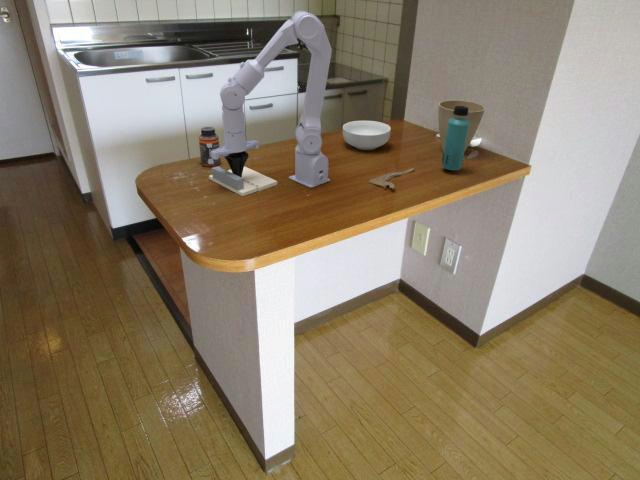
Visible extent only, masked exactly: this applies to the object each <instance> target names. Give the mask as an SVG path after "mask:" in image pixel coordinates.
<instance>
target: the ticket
mask: <svg viewBox="0 0 640 480" xmlns="http://www.w3.org/2000/svg"><path fill="white" fill-rule="evenodd" d="M227 171H229V172H231V173H232V170H231V169H228V170H227ZM242 178H243V181H244V182H246V183H248V184H250V185H252V186H254V187H256V188H257V192H260V191H263V190H266V189H269V188H271V187H274V186H277V185H278V181H277V180H275V179H273V178H271V177H269V176H266V175H264V174H262V173H260V172H258V171H256V170H254V169H251V168H249V167H247V166H245V165H244V168H243V172H242Z"/></svg>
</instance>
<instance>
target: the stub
mask: <svg viewBox="0 0 640 480" xmlns="http://www.w3.org/2000/svg"><path fill="white" fill-rule="evenodd" d="M208 179H209V180H211V181H212V182H214V183H216V184H218V185H219V186H222V187H224V188H225V189H228V190H229V191H232V192H234V193H235V194H237V195H239V196H241V197H245V196H247V195H251V194H254V193H255V192H258V191H257V188H256V187H254V186H252V185H250V184H248V183H246V182H244V181H243V178H241V177H239V176H237V175H235V174H233V173H231V172H229V171H228V170H226V169H225V168H223V167H221V166H219V165H217V166H213V167H211V174H210V175H208Z"/></svg>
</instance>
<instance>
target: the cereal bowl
mask: <svg viewBox="0 0 640 480" xmlns="http://www.w3.org/2000/svg"><path fill="white" fill-rule="evenodd" d="M391 129H392V128H391V126H390V125H389V124H386V123H384V122H380V121H376V120H354V121H353V120H352V121H348V122H347V123H345V124H343V125H342V136H343V140H344V141H345V142H346V143H347V144H349V145H350V146H352V147H355V148H356V149H357V150H361V151H373V150H375V149H377V148H379V147H382V146H384V145H385V144H386V143H387V142H388V141H389V140H390V137H391Z"/></svg>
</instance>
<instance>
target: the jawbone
mask: <svg viewBox="0 0 640 480" xmlns="http://www.w3.org/2000/svg"><path fill="white" fill-rule="evenodd" d="M411 172H415V168H414V167H412V168H409V169H406V170H405V171H404V170H403V171H395V172H388V173H386V174H382V175H380V176H377V177H375V178H370V179H369V180H368V183H369V184H370V185H375V186H380V187H382V188H383V189H384V190H387V187H388V186H389V189H392V190H394V189H395V183H393V182H391V181H389V180H391V179H393V178H395V177H399V176H401V175H405V174H409V173H411Z"/></svg>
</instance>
